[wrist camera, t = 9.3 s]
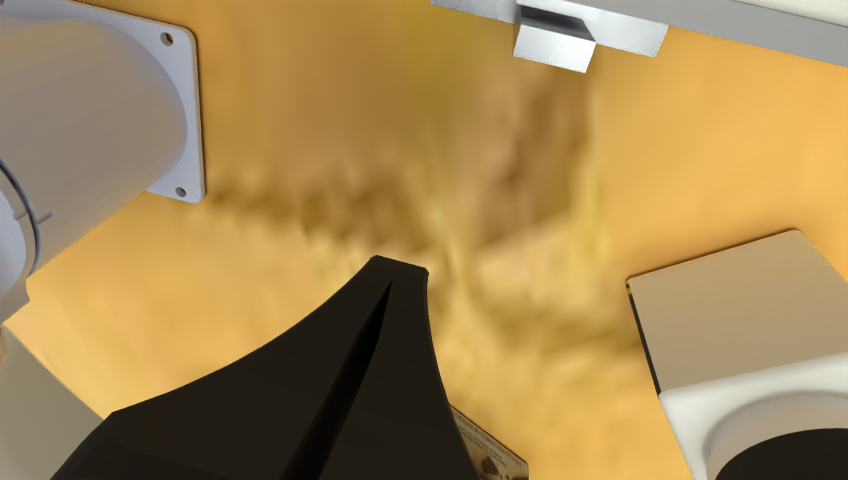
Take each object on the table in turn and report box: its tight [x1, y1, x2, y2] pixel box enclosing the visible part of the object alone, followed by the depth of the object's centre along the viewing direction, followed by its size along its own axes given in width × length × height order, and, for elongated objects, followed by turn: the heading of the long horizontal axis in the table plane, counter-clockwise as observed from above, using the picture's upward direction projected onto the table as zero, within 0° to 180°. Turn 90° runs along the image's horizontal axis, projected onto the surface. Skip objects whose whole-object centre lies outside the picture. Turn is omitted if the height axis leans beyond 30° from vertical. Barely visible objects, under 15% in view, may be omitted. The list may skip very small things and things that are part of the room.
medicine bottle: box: [626, 230, 848, 480], centre depth 19 cm, size 7×7×12 cm
